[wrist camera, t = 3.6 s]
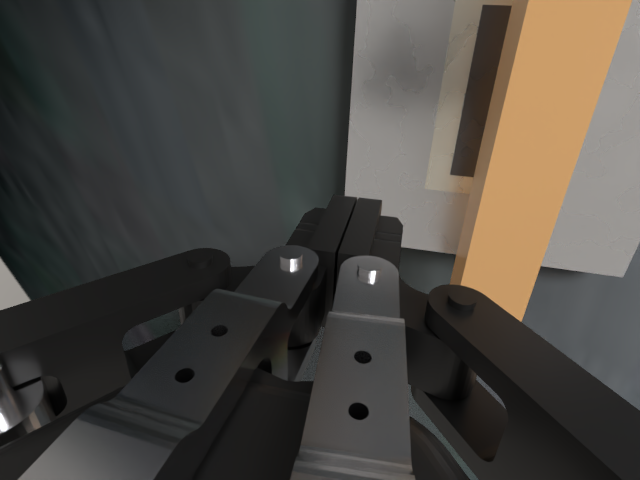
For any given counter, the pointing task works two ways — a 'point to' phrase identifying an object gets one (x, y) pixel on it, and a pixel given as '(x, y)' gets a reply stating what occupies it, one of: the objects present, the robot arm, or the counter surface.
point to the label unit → (480, 130)
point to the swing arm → (533, 140)
